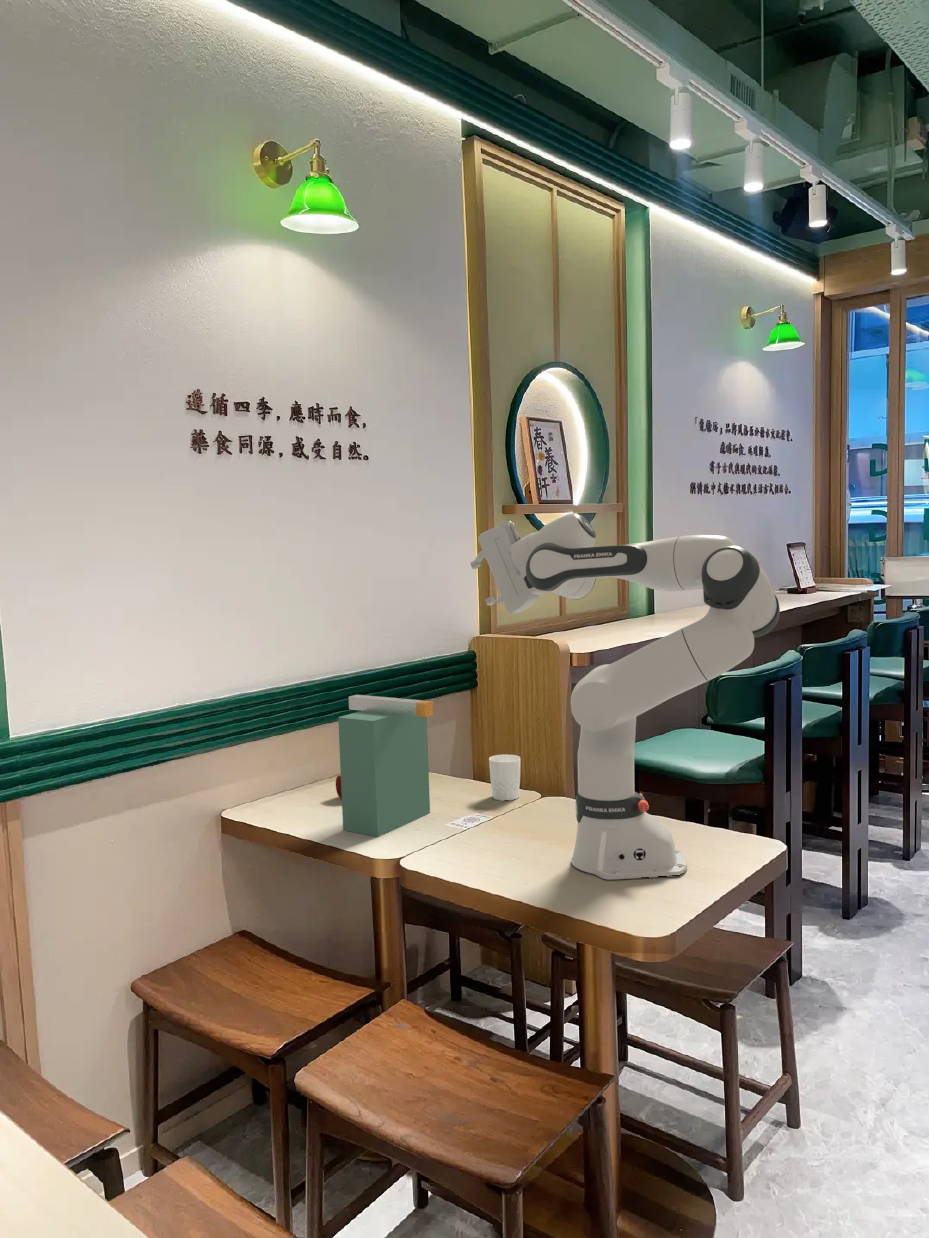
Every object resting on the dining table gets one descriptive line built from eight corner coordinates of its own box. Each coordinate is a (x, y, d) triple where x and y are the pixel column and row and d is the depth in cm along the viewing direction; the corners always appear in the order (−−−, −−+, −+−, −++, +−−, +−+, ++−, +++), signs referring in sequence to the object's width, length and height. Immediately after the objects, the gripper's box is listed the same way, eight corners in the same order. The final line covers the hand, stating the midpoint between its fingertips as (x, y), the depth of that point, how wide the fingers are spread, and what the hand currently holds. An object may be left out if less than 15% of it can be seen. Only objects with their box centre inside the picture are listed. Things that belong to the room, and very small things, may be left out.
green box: (430, 812, 222) (426, 705, 220) (377, 836, 206) (373, 720, 203) (396, 807, 228) (392, 702, 225) (343, 830, 211) (338, 717, 209)
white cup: (487, 801, 231) (486, 761, 230) (492, 792, 238) (491, 754, 237) (519, 801, 229) (518, 762, 228) (523, 793, 237) (522, 754, 236)
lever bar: (433, 714, 208) (432, 701, 208) (425, 716, 206) (425, 703, 206) (357, 707, 220) (356, 694, 220) (349, 709, 218) (348, 696, 218)
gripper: (504, 515, 209) (456, 543, 216) (538, 597, 205) (488, 623, 211) (517, 518, 215) (470, 545, 221) (551, 598, 210) (502, 623, 217)
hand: (479, 584), depth 216 cm, fingers open, 8 cm apart
